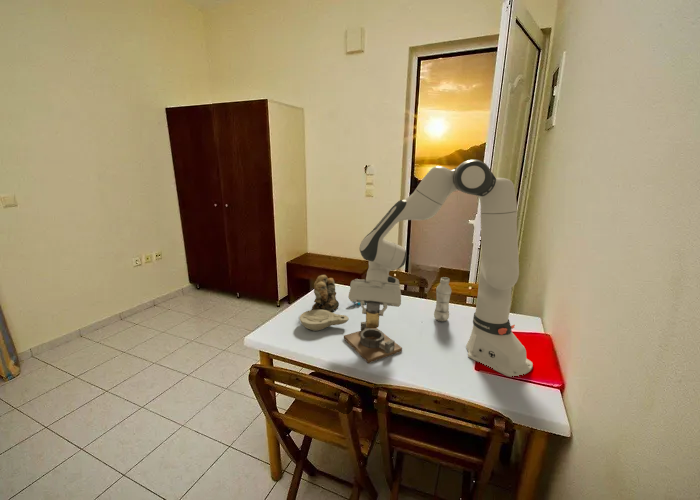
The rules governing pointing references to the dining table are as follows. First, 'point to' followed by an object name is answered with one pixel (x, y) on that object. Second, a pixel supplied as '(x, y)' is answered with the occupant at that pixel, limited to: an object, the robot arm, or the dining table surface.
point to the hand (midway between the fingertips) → (372, 314)
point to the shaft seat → (372, 343)
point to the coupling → (372, 314)
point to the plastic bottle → (442, 300)
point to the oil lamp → (321, 319)
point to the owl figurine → (325, 294)
